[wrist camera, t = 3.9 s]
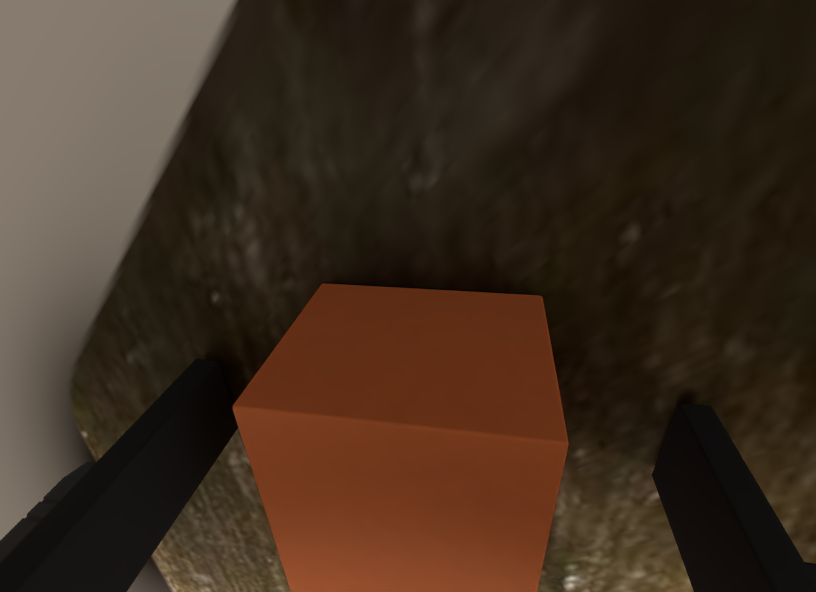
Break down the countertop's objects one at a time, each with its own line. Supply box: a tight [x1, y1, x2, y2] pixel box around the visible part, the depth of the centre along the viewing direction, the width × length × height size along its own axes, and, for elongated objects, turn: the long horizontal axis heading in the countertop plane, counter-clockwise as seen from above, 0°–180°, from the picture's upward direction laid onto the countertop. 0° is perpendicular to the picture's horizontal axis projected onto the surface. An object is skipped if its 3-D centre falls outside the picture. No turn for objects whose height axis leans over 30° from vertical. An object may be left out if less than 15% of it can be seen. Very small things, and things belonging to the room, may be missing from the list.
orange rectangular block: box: [233, 283, 569, 592], centre depth 11 cm, size 8×6×4 cm
